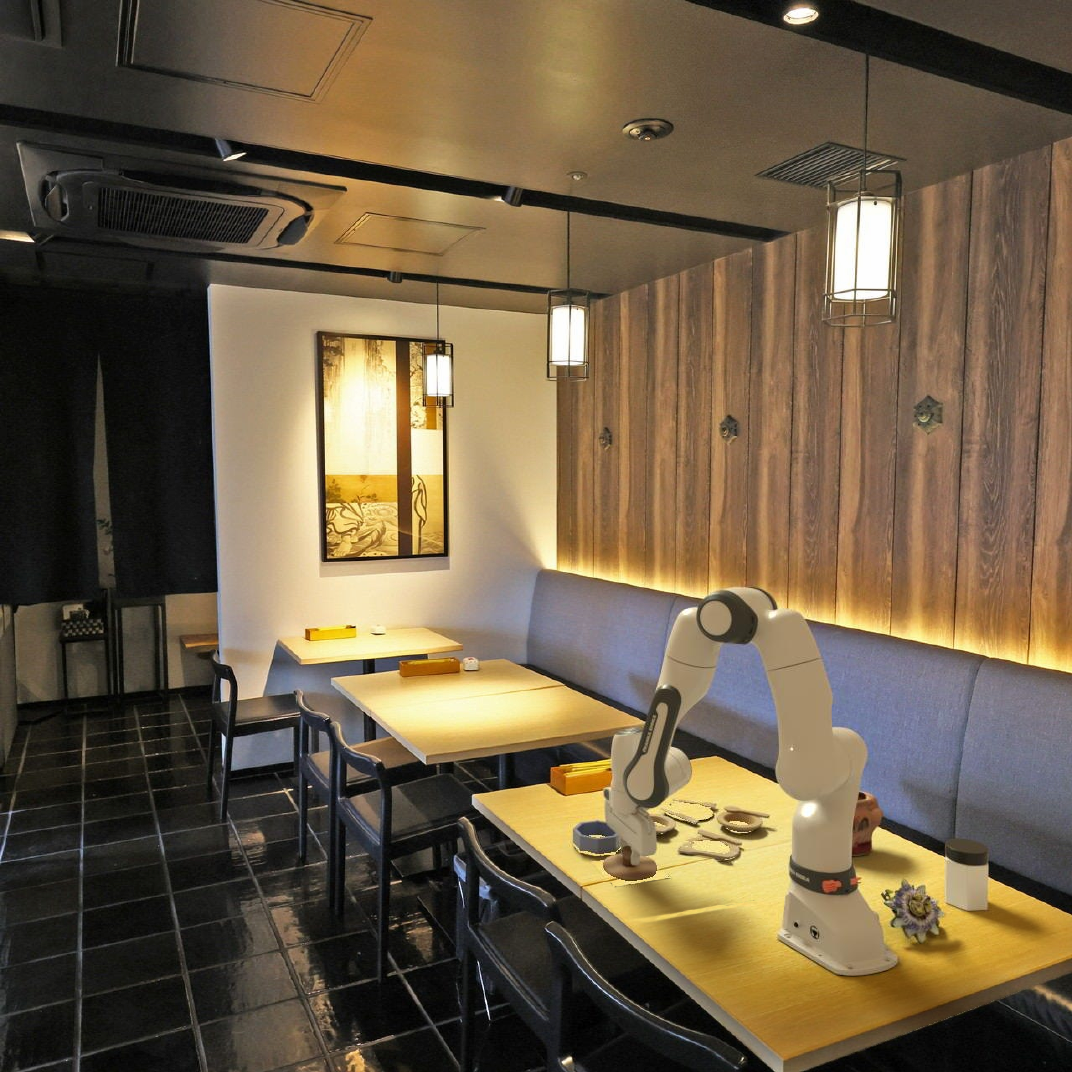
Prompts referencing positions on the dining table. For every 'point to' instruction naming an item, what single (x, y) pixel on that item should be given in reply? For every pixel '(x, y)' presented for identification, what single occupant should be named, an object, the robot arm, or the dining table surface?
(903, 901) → the passion flower
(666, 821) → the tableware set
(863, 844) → the decorative planter
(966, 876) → the jar
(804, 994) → the dining table surface
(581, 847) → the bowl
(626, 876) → the lid
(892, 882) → the dining table surface
